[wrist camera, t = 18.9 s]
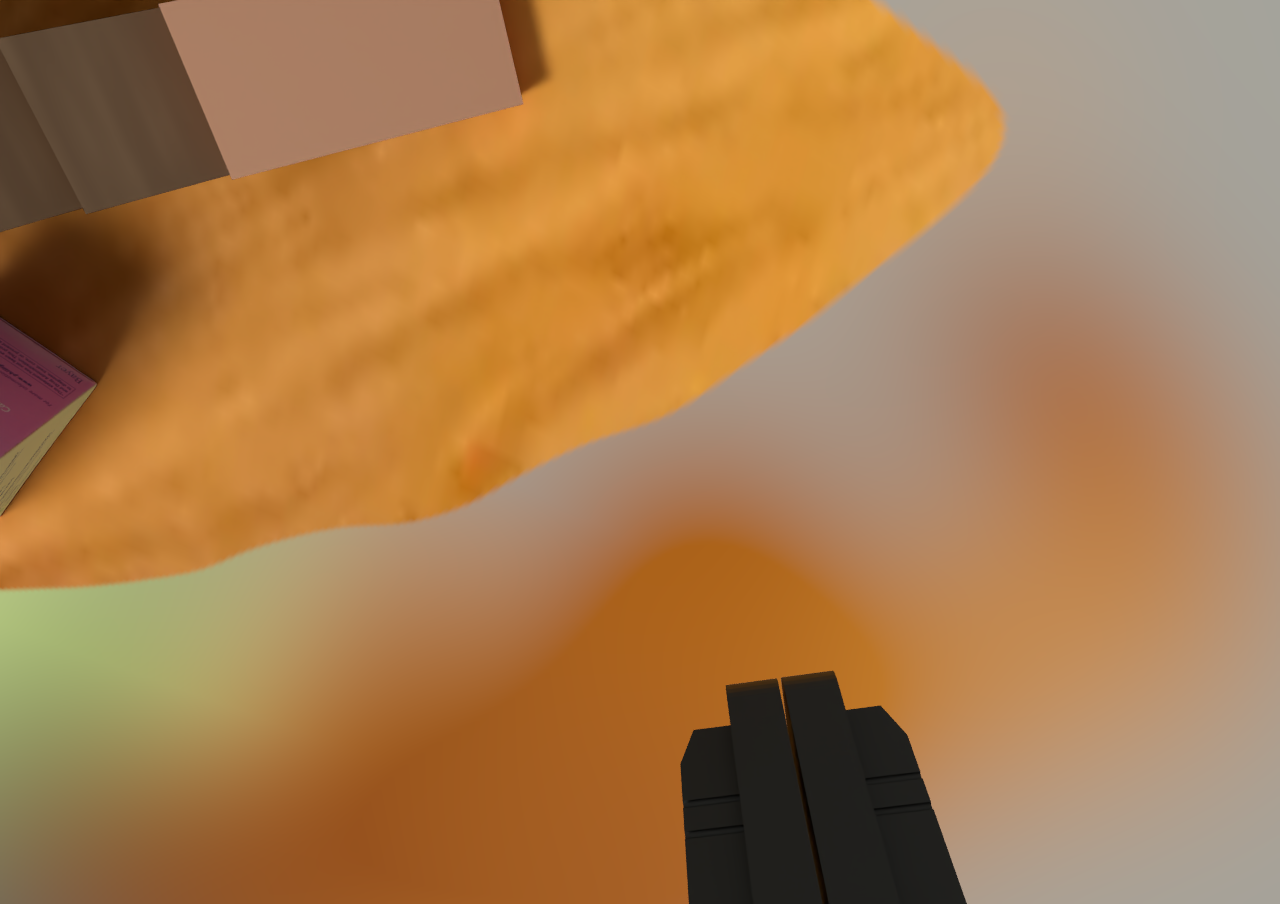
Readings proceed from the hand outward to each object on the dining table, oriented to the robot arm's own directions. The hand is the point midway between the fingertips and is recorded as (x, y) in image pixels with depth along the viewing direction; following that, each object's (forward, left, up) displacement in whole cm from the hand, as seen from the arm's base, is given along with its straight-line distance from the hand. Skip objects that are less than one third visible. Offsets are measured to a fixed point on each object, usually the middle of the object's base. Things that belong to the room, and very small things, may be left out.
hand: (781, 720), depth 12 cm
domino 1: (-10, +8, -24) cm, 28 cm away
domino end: (-5, +8, -24) cm, 26 cm away
